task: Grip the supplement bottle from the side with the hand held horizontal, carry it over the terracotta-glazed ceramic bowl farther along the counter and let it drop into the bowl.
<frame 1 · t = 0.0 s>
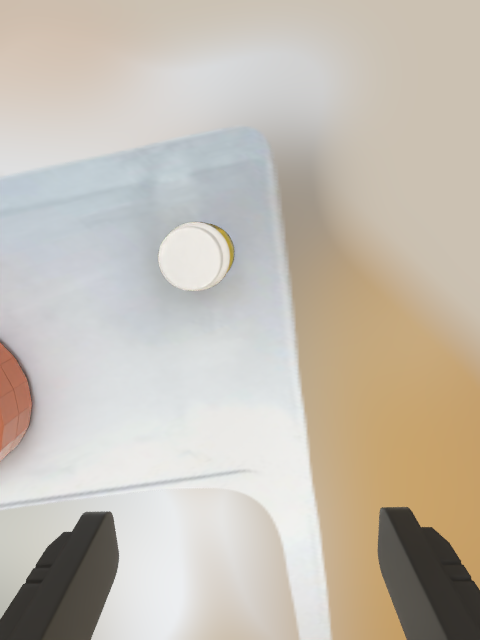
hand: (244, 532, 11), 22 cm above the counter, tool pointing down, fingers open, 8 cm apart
supplement bottle: (206, 252, 31), on the counter
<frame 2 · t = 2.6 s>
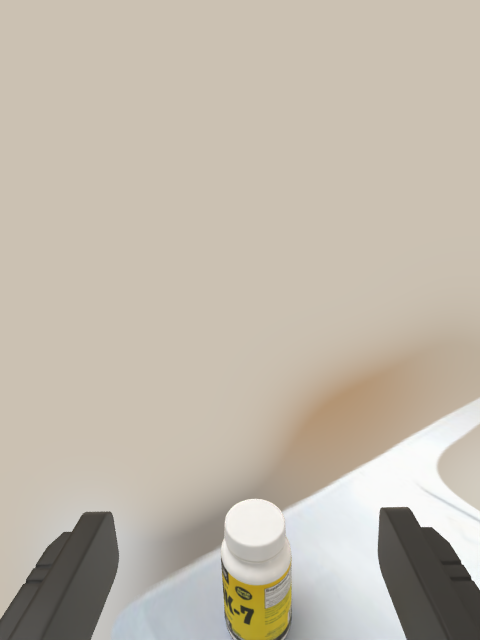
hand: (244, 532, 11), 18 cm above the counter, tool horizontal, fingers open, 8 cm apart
supplement bottle: (258, 619, 26), on the counter
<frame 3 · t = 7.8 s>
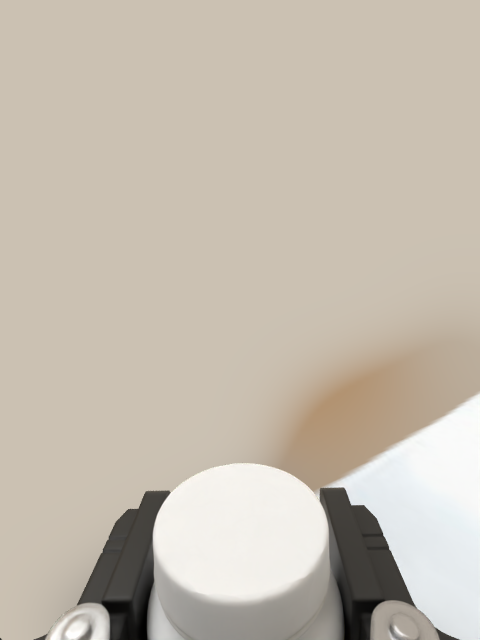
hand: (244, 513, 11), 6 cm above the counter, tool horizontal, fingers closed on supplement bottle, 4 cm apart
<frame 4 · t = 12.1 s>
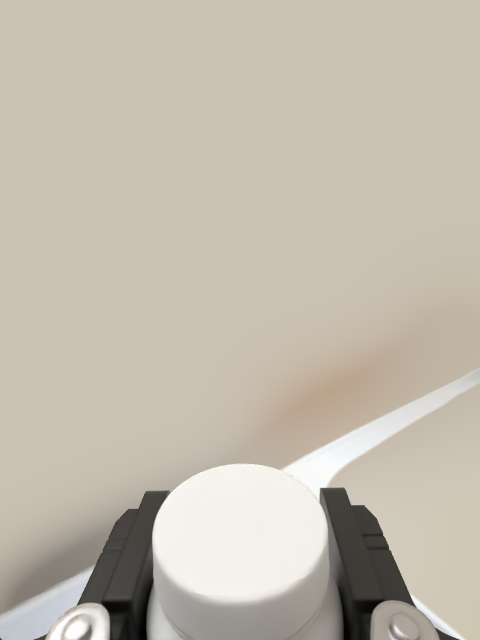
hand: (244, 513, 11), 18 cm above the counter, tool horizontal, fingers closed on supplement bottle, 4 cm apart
when the fingers open (9 cm above the counter, at t = 16.4 s): supplement bottle drops 2 cm, resting on bowl.
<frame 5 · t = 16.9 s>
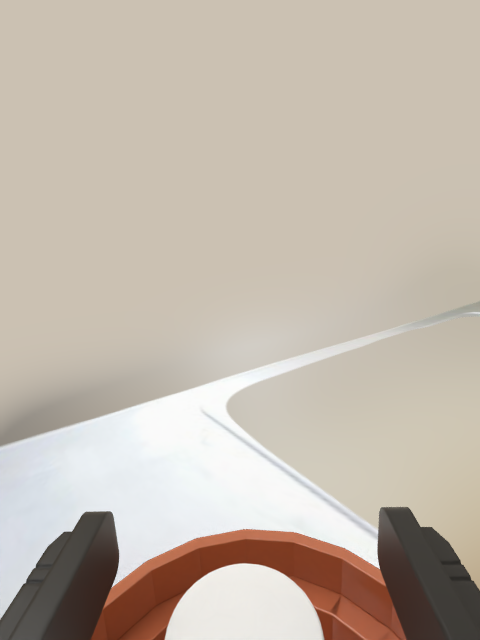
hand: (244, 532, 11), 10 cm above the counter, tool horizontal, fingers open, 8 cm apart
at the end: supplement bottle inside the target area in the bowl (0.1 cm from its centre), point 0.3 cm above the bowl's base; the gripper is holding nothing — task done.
